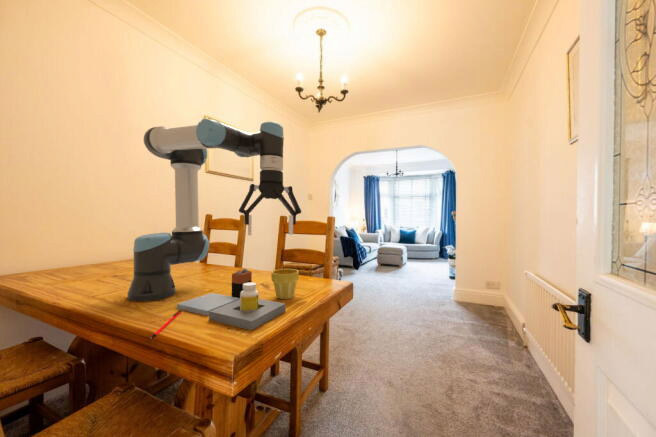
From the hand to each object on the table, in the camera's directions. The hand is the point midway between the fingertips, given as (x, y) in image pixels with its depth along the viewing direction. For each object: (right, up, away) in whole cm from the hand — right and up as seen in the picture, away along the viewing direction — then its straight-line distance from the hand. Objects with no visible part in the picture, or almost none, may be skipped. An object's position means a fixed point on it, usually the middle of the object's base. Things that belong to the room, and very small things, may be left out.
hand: (270, 234), depth 87 cm
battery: (-14, -25, +13) cm, 31 cm away
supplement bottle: (-5, -25, -6) cm, 26 cm away
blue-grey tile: (-21, -24, +2) cm, 32 cm away
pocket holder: (-5, -25, -6) cm, 26 cm away
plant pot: (+2, -25, +13) cm, 28 cm away
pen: (-26, -25, -13) cm, 38 cm away
